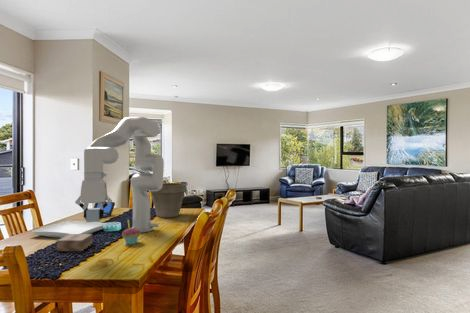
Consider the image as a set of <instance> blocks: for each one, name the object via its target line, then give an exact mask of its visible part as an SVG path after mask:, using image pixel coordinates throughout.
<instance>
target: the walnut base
mask: <svg viewBox="0 0 470 313" xmlns="http://www.w3.org/2000/svg"><path fill="white" fill-rule="evenodd" d="M91 244H92V245H93V233H90V234H68V235H66V236H64V237H62V238H59V239H57V240H56V252H83V251H84V249H85V250H86V249H88V248H89V247H90V246H92V245H91ZM88 246H89V247H88Z"/></svg>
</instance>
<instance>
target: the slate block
mask: <svg viewBox="0 0 470 313" xmlns="http://www.w3.org/2000/svg"><path fill="white" fill-rule="evenodd" d="M99 210H100V208H94V207H90V208H88V209H87V210H86V220H85V221H86V222H99V223H100V222H101V220H102V219H99Z"/></svg>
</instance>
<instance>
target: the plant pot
mask: <svg viewBox="0 0 470 313" xmlns="http://www.w3.org/2000/svg"><path fill="white" fill-rule="evenodd" d="M186 191H187V183H181V182H163V186H162V188H161V190H159V191H149V192H150V195H151V198H152V203H153V205H154V211H155V214H156V216H157V217H158V218H166V219H167V218H175V217H179V216H180V211H181V209H182V208H181V207H182V204H183V202H184V201H183V200H184V197H185V193H186Z"/></svg>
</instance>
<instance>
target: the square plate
mask: <svg viewBox="0 0 470 313" xmlns="http://www.w3.org/2000/svg"><path fill="white" fill-rule="evenodd" d="M106 223H107V222H100V221H99V222H86V220H85V221H84V220H66V221H62V222H58V223H54V224H50V225H47V226H43V227H41V228H37V229H33V230H31V233H33V234H34V235H35V236H36V235H37V236H42V237H47V238H59V239H61V238H62V237H64V236H66V235H68V234H93V233H95V232H98V231H101V230H103V229H104V228H103V224H106Z"/></svg>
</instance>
